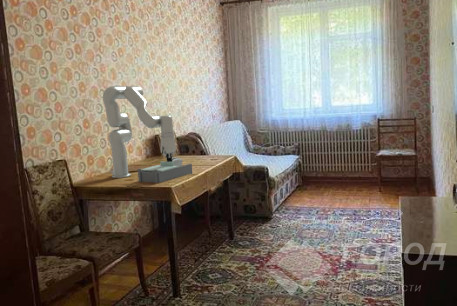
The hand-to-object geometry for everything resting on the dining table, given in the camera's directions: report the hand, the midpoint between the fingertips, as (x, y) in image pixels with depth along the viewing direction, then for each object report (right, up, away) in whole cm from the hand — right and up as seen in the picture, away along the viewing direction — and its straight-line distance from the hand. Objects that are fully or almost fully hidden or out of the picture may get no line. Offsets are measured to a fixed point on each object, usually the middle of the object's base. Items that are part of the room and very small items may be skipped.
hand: (169, 163), depth 277 cm
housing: (-2, -9, -3) cm, 10 cm away
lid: (-5, -3, -8) cm, 10 cm away
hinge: (-1, -5, +29) cm, 29 cm away
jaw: (-9, -9, -8) cm, 15 cm away
